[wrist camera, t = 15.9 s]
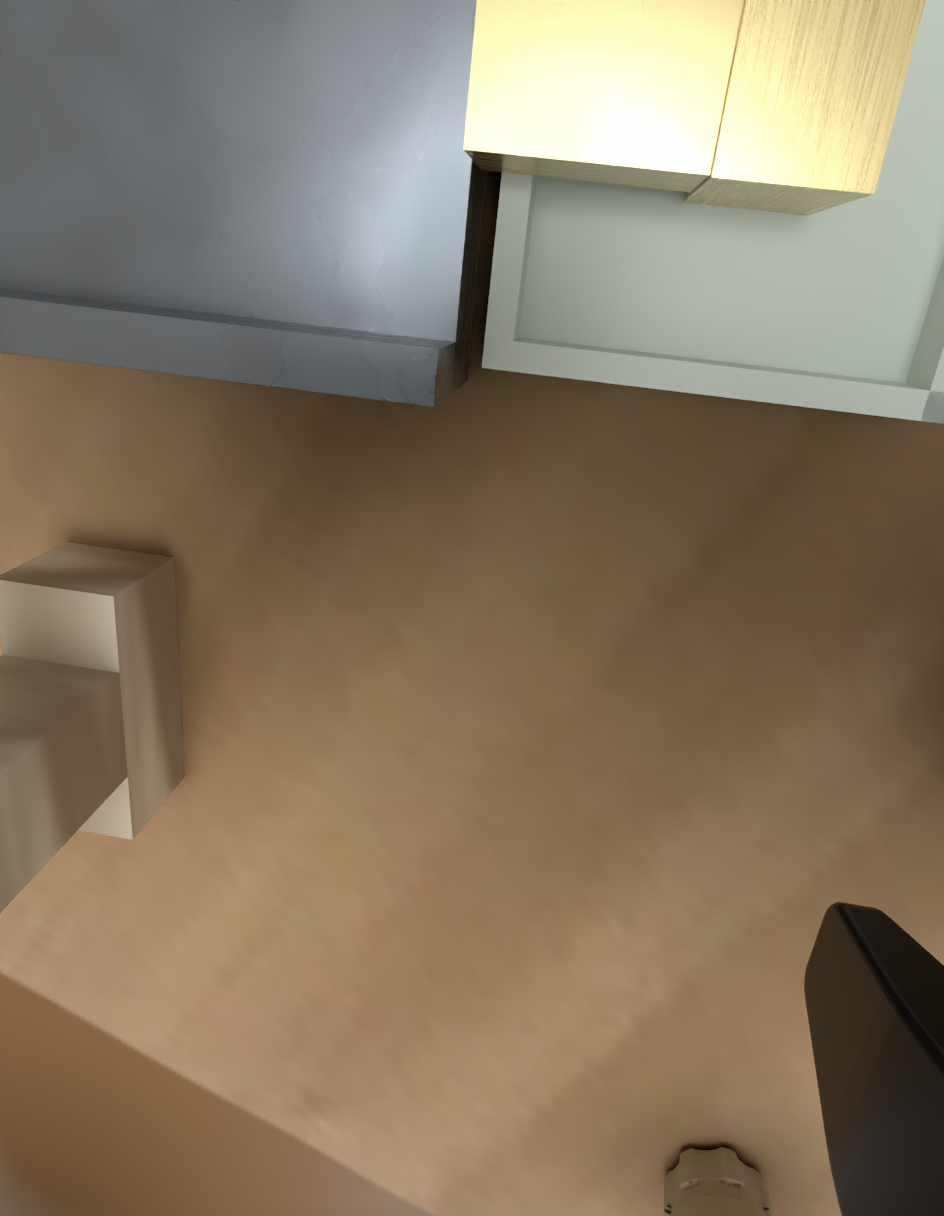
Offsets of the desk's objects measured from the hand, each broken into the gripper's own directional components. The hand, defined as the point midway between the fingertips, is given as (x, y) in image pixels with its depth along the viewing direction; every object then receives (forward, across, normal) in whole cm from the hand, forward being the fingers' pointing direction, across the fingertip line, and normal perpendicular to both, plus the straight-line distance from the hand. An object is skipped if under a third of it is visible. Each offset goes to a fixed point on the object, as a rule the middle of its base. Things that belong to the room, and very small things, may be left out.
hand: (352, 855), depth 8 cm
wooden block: (+10, -3, -9) cm, 14 cm away
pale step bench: (+13, +10, +6) cm, 17 cm away
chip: (+11, -1, -9) cm, 15 cm away
